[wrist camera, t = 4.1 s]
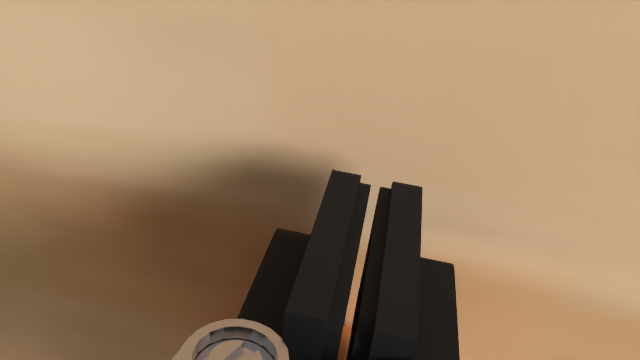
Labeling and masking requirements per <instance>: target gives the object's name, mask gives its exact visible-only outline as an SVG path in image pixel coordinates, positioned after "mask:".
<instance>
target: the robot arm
mask: <svg viewBox="0 0 640 360" xmlns="http://www.w3.org/2000/svg"><path fill="white" fill-rule="evenodd" d="M360 180H361V175H357V174H351V173H346V172H341V171H336V170H332V173H331V176H330V179H329V182H328V185H327V188H326V191H325V194H324V197H323V200H322V203H321V206H320V208H319V211H318V214H317V217H316V220H315V223H314V226H313V229H312V232H311V235H309V234H304V233H299V232H294V231H289V230H284V229H279V228H278V229H277V230H276V232H275V233H274V236H273V238H272V240H271V242H270V245H269V247H268V249H267V252H266V254H265V256H264V258H263V261H262V263H261V265H260V268H259V270H258V272H257V274H256V277H255V279H254V281H253V284H252V286H251V288H250V290H249V293H248V295H247V297H246V300H245V302H244V304H243V306H242V309H241V311H240V313H239V316H238V318H237V319H224V320H220V321H216V322H212V323H210V324H208V325H206V326H204V327H202V328H200V329H198V330H197V331H196V332H195V333H193V334H192V335H191V336H190V337H189V338H188V339H187V340H186V342H185V343H184V344H183V346H182V347H181V348H180V349H179V351H178V352H177V353H176V355H175V356H174V357H173V359H172V360H337V357H338V352H339V346H340V341H341V336H342V331H343V326H344V321H345V316H346V311H347V305H348V300H349V295H350V290H351V285H352V280H353V275H354V269H355V264H356V259H357V254H358V249H359V244H360V239H361V233H362V228H363V223H364V218H365V213H366V208H367V203H368V197H369V192H370V187H371V185H368V184H363V183H360ZM421 216H422V187H419V186H414V185H408V184H403V183H398V182H393V183H392V187H391V189H389V188H384V187H380V190H379V195H378V199H377V204H376V209H375V214H374V219H373V224H372V229H371V234H370V239H369V244H368V248H367V253H366V258H365V263H364V268H363V273H362V278H361V283H360V288H359V293H358V298H357V303H356V308H355V313H354V319H353V324H352V330H351V336H350V341H349V347H348V353H347V358H346V360H460V359H459V342H458V324H457V307H456V290H455V273H454V266H453V264H451V263H446V262H441V261H436V260H431V259H426V258H421V257H420V251H421Z"/></svg>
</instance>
